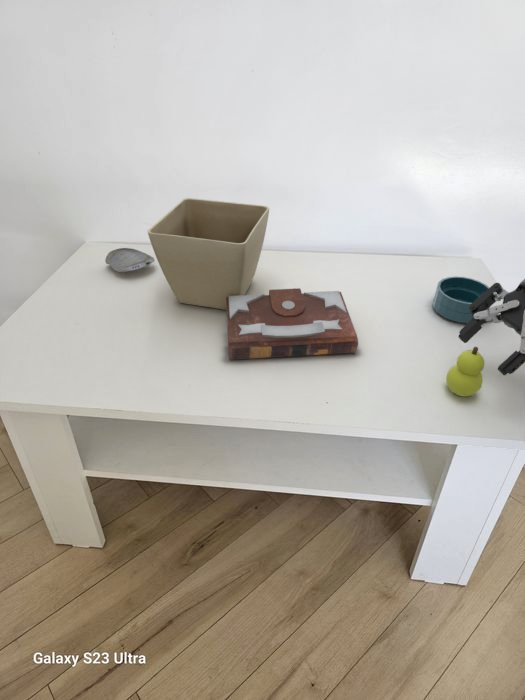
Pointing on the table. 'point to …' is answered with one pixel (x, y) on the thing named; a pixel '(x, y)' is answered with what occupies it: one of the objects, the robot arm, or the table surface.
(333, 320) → the book
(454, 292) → the bowl
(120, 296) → the table surface
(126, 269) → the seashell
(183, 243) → the flower pot
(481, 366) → the pear
